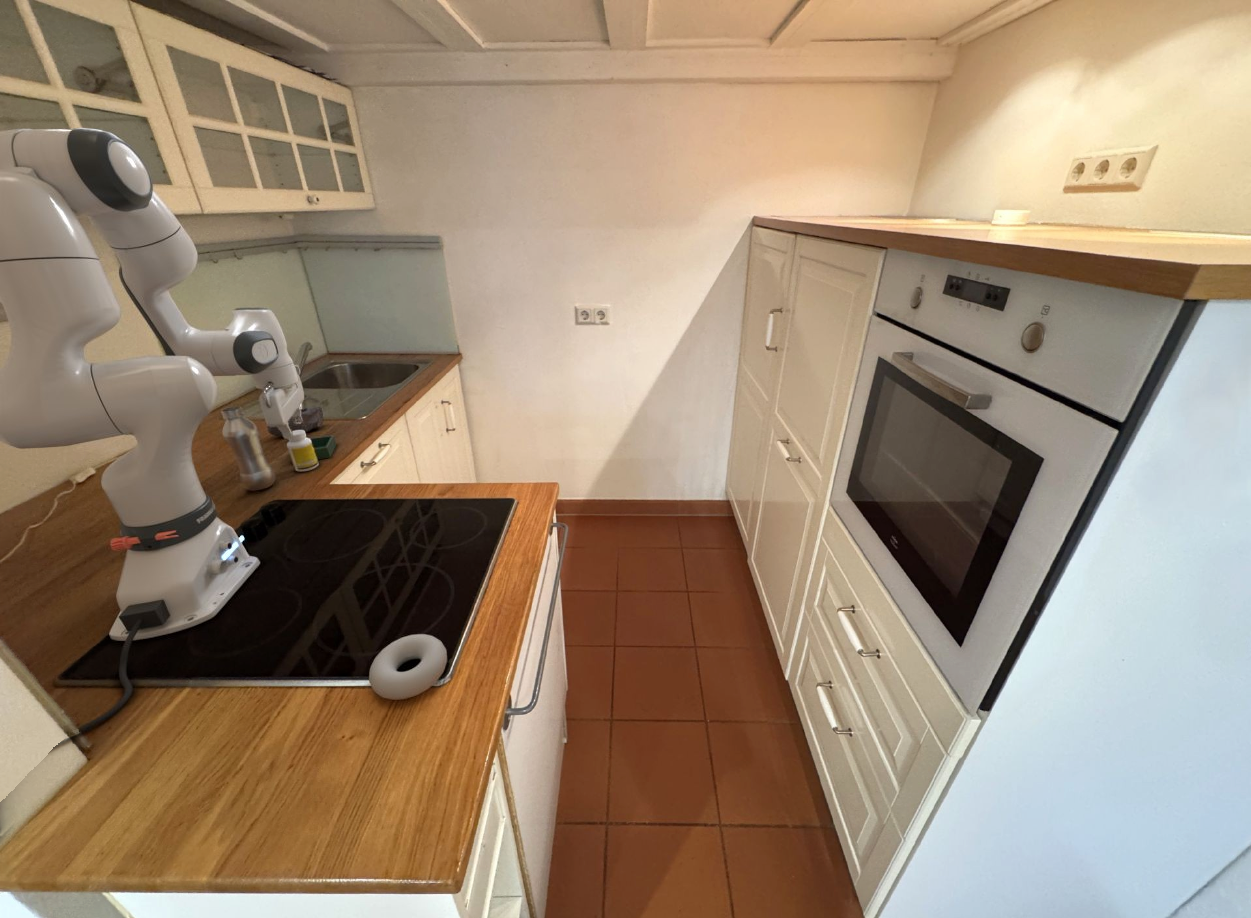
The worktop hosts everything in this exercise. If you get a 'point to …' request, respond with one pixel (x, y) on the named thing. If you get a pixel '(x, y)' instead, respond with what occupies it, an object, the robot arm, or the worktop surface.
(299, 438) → the supplement bottle
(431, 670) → the donut
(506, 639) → the worktop surface
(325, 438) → the tray
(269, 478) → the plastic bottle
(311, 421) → the perforated stone tool
